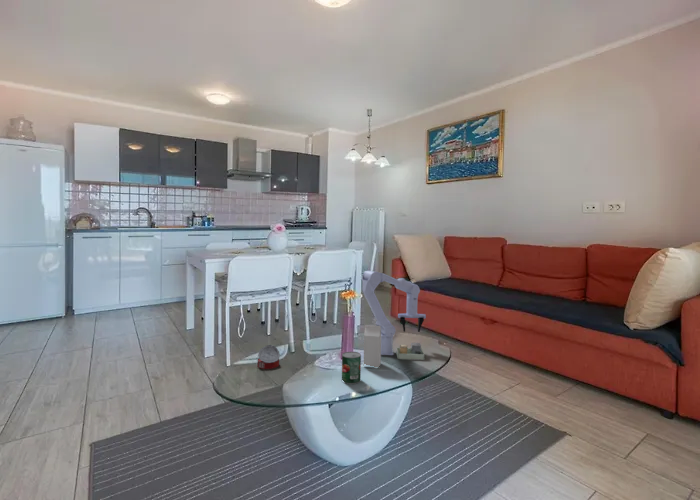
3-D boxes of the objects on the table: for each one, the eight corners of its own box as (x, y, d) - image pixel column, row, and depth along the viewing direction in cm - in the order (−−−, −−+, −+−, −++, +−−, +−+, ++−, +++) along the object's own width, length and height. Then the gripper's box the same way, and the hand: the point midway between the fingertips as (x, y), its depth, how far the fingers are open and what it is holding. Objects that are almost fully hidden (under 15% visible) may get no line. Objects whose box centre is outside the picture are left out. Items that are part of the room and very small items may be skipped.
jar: (400, 357, 183) (400, 346, 182) (399, 354, 186) (399, 344, 186) (407, 357, 182) (407, 346, 182) (406, 354, 186) (407, 344, 186)
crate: (397, 359, 180) (397, 353, 180) (396, 353, 190) (396, 347, 190) (424, 360, 179) (424, 354, 179) (421, 354, 189) (421, 348, 189)
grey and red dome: (278, 372, 173) (288, 354, 172) (267, 378, 164) (277, 359, 163) (260, 359, 177) (270, 341, 176) (248, 363, 167) (258, 344, 166)
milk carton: (379, 369, 166) (379, 327, 165) (363, 368, 168) (364, 326, 167) (380, 364, 173) (381, 324, 172) (365, 363, 174) (366, 323, 174)
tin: (411, 357, 182) (411, 345, 182) (410, 354, 186) (410, 342, 186) (420, 358, 181) (421, 345, 181) (419, 355, 186) (420, 342, 186)
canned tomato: (337, 380, 153) (338, 354, 152) (350, 375, 158) (350, 350, 158) (351, 385, 147) (352, 358, 147) (364, 380, 153) (364, 354, 153)
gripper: (398, 307, 192) (398, 332, 192) (426, 307, 191) (426, 333, 191) (397, 304, 199) (397, 329, 199) (424, 305, 198) (424, 330, 199)
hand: (411, 331), depth 196 cm, fingers open, 7 cm apart
